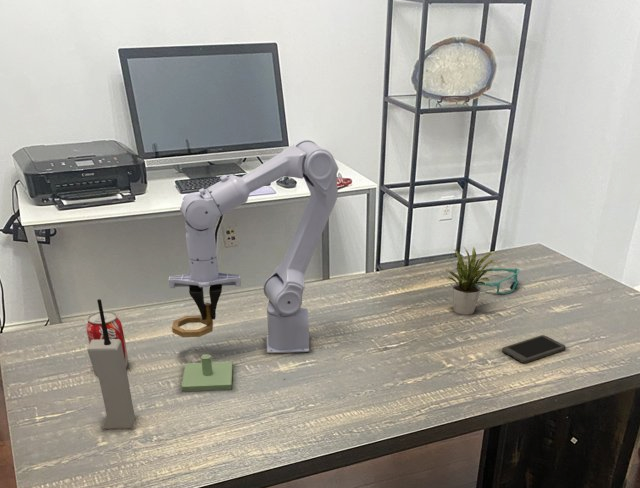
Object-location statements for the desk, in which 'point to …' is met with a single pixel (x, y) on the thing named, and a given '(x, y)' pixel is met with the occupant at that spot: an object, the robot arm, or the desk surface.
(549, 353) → the cell phone
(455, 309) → the house plant
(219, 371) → the peg stand
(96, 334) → the soda can
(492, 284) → the sunglasses
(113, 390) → the vintage mobile phone
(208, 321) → the maple ring
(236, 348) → the desk surface
